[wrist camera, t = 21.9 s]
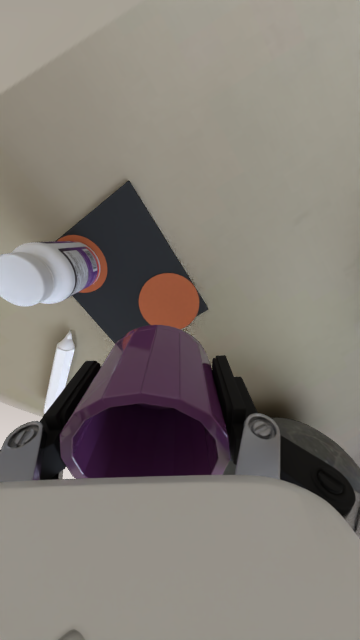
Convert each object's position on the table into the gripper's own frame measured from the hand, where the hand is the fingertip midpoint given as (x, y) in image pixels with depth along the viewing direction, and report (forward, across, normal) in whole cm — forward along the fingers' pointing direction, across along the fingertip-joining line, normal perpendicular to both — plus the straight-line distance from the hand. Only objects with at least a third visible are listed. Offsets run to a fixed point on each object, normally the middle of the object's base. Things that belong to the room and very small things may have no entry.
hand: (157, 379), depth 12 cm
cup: (+1, 0, 0) cm, 1 cm away
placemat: (+15, +5, -3) cm, 16 cm away
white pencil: (+15, +17, +10) cm, 25 cm away
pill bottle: (+15, +11, -6) cm, 19 cm away
